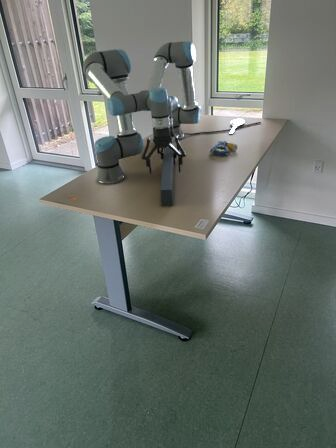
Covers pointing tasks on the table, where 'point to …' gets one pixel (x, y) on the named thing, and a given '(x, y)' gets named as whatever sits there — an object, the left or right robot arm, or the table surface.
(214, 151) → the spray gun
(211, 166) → the table surface
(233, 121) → the spoon
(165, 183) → the bar
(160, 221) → the table surface
